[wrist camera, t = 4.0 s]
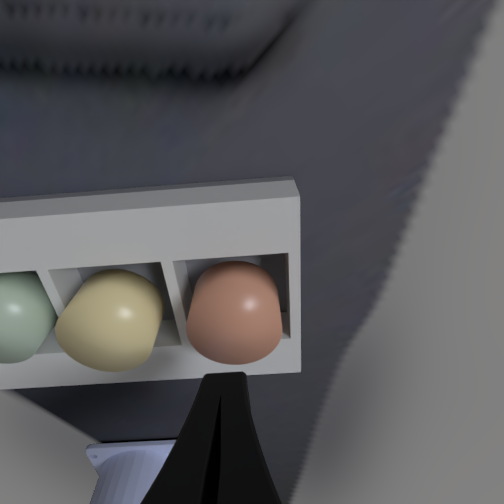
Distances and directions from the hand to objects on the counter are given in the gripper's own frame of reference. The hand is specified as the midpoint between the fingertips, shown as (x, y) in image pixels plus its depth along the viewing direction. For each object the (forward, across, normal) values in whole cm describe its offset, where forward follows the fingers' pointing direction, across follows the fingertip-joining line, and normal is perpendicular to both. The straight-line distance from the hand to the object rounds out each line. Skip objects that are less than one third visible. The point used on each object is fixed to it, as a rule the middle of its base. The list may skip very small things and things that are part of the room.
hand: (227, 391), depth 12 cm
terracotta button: (+5, 0, 0) cm, 5 cm away
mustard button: (+5, +5, 0) cm, 8 cm away
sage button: (+6, +11, 0) cm, 13 cm away
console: (+7, +5, 0) cm, 9 cm away
